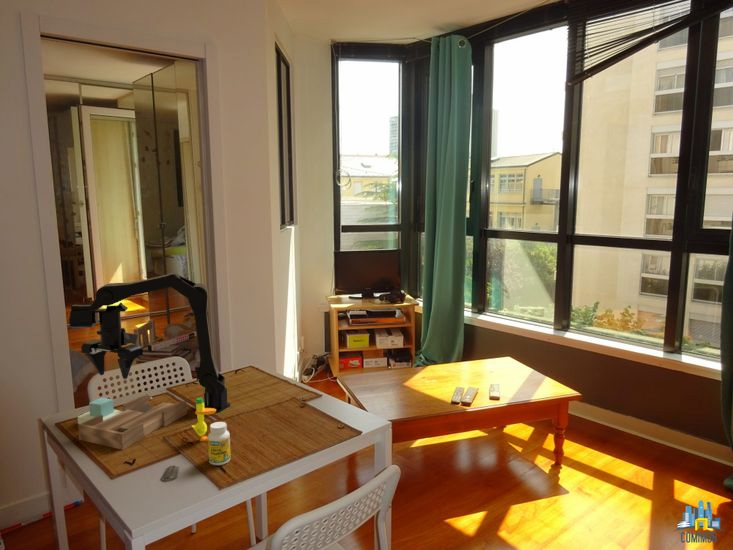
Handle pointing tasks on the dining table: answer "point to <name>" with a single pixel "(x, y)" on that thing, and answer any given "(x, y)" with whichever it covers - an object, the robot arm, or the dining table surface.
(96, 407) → the block
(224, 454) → the supplement bottle
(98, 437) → the box
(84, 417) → the board
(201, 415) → the toy figure
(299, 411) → the dining table surface
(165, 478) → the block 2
